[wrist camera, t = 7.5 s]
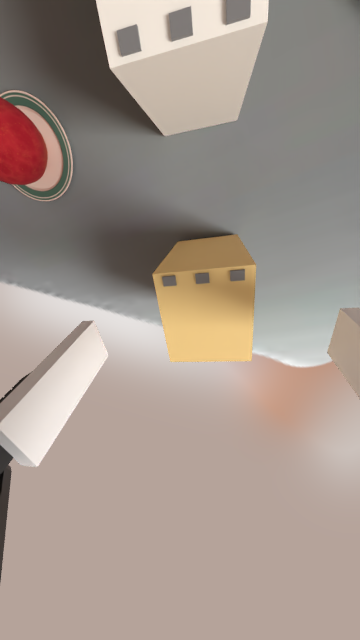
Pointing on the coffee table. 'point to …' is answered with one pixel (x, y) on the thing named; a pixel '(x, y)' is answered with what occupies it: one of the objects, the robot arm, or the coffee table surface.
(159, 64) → the white box
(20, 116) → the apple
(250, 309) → the stub
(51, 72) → the coffee table surface
